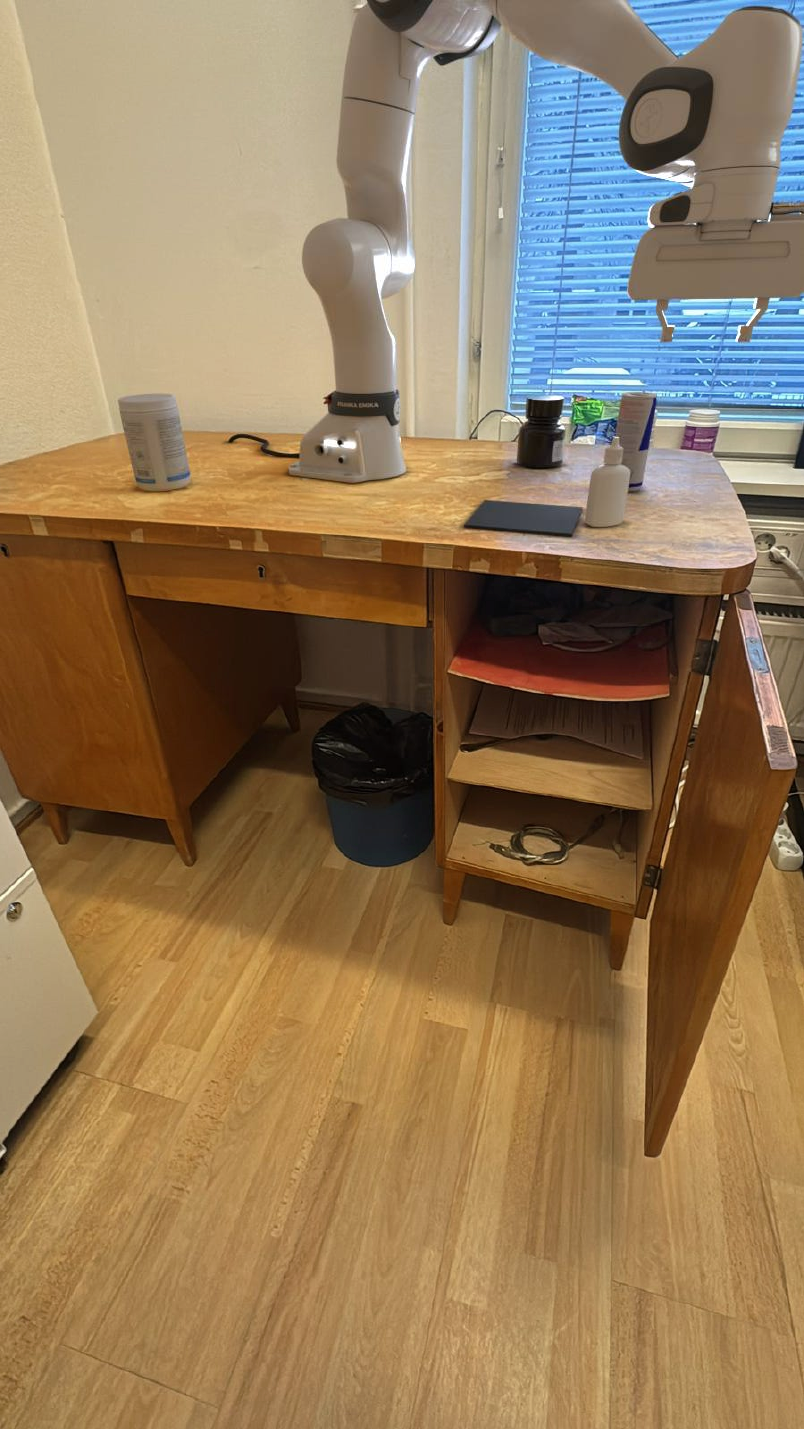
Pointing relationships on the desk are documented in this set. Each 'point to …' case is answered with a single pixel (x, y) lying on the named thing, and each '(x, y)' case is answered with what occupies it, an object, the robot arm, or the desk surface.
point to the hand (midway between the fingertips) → (703, 342)
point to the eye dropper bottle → (608, 489)
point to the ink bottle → (542, 433)
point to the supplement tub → (155, 441)
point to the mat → (525, 518)
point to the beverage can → (635, 433)
